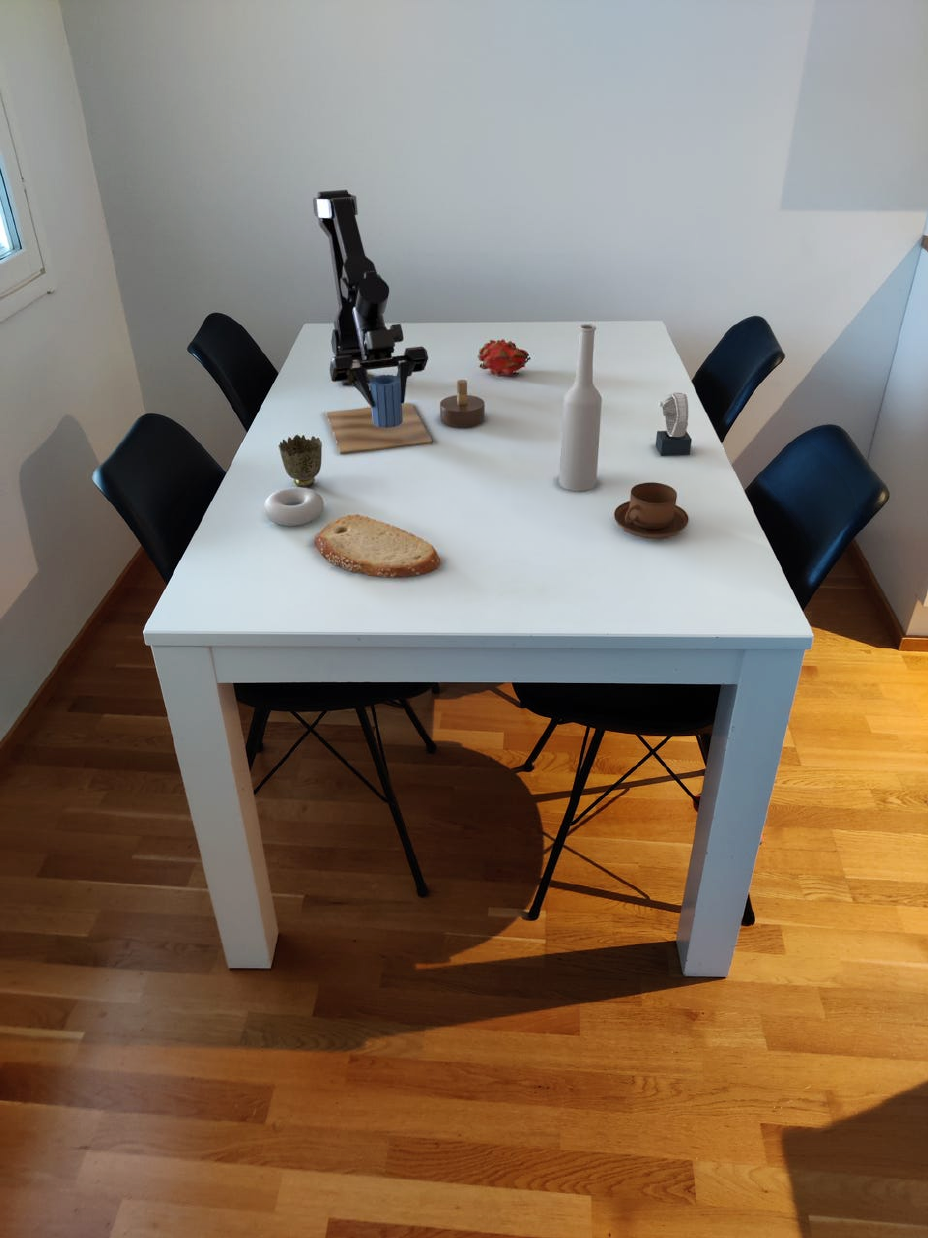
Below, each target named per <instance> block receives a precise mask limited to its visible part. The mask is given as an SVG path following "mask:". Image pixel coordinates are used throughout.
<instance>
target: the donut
mask: <svg viewBox="0 0 928 1238" xmlns="http://www.w3.org/2000/svg"><path fill="white" fill-rule="evenodd" d="M324 504H325V503H324V499H323V498H322V496H321V495H320V494H319V493H318V492H317V491H315V490H314V489H311V488H309V487H305V488H302V487H298V486H296V487H295V486H294V487H293V486H292V487H286V488H282V489H279V490H276V491H275V492H273V493H271V494H270V495H269V496H268V497H267V498H266V499H265V501H264V506H263V511H264V513H265V516H266V517H267V518H268V520H270V521H271V522H272V523H274V524H277V525H280V526H285V527H292V526H302V525H306V524H308V523H311V522H313V521H314V520H316V519H318V518H319V517H320V516H321V514H323V511H324Z"/></svg>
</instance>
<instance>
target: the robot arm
mask: <svg viewBox="0 0 928 1238" xmlns="http://www.w3.org/2000/svg"><path fill="white" fill-rule="evenodd" d="M357 201H358V200H357V196H356V195H355V194H350V193H349V191H348V189H337V190H323V191H318V192H317V197H313V198H312V206H313V212H314V216H315V217H317V221H318V226H319V227H320V229H321V230H322V231H323V233H324V234H325V235H326V236H327V238H328V243H329V250H330V256H331V264H332V269H333V270H332V271H333V276H334V283H335V290H336V291H335V292H336V297H337V304H338V311H337V313H336V316H335V319H334V321H333V326H334V327H333V329H332V333H331V340H330V343H331V350H332V351H331V352H332V353H333V354H334V356H332V358H331V360H330V363H329V375H330V380H331V382H333V383H337V382H341V385H342V386H350V385H351V386H354V388H355V389H356V390H357V391H358V392H359V393H360V394H361V396H362V397H363V398H364V399H365V401H366V402H367V404H368V405H369V407H370V408H373V407H374V403H373V398H372V394H371V391H370V380H371V379H372V378H371V376H370V374H369V373H368V371H370V370H378V369H386V368H395V367H396V368H397V372H396V376H397V377H398V378H400V380H401V400H402V404H405V399H406V390H407V381H408V378H409V377H411V376H412V375H413V373H420V372H423V371H425V370H426V366H427V364H428V361H429V353H428V350H427V349H426V348H425V347H424V346H413V347H406V348H405V350H404V353H403V354H402V355H394V356H393V354H394V352H395V347H396V343H401V342H403V341H404V331H403V327H402V324H401V323H396V324H391V325H390V326H389V328H387V326H386V323H385V318H384V314H385V312H386V308H387V304H388V301H389V300H388V299H389V296H390V286H389V285H388V284H387V282H386V281H385V280H384V279H383V278H382V276H381V274H378V271H377V269H376V265H375V263H374V262H373V261H372V260H371V259H370V258H369V257H368V256H367V255H366V252H365V248H364V245H363V242H362V238H361V234H360V233H361V232H360V230H359V226H358V221H357V218H356V216H357V215H358V214H359V213H358V212H359V211H358V202H357Z"/></svg>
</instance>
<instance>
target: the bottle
mask: <svg viewBox="0 0 928 1238" xmlns="http://www.w3.org/2000/svg"><path fill="white" fill-rule="evenodd" d="M578 329H579V336H578V353H577V363H576V373H575V380H574V384H573V385H572V386H571V387H570V388H569V389H568V390H567V391H566V392H565V394H564V396H563V406H562V407H563V408H562V423H561V439H560V440H561V441H560V456H559V472H558V473H559V478H558V484H559V486H560V487H561V488H562V489H564V490H567V491H572V492H579V493H580V492H587V491H590V490H592V489H594V488H595V487H596V485H597V477H598V476H597V475H598V466H599V465H598V463H599V451H600V450H599V449H600V435H601V434H600V433H601V420H602V419H601V418H602V403H603V398H602V395H601V393H600V391H599V390H598V389H597V387H596V386H595V385H594V383H593V381H594V379H593V377H594V373H593V372H594V365H593V364H594V347H595V331H596V329H597V326H596V325H594V324H591V323H585V324H581V325H579V326H578Z"/></svg>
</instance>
